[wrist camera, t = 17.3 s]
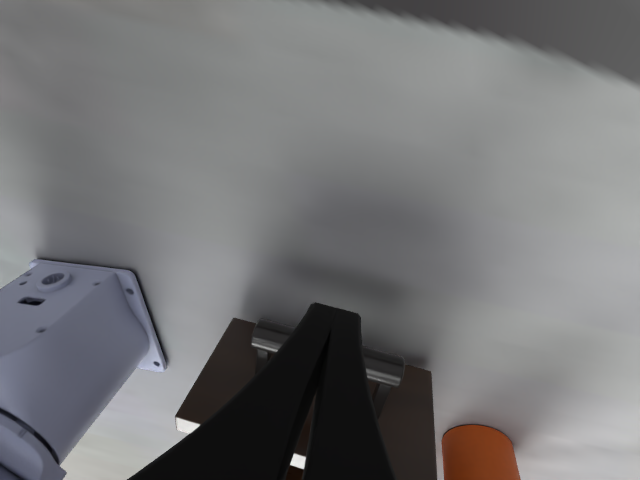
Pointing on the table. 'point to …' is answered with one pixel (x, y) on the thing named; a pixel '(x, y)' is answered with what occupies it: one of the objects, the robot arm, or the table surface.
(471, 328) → the table surface
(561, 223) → the table surface
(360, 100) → the table surface
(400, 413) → the drawer
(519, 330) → the table surface
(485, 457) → the bottle
